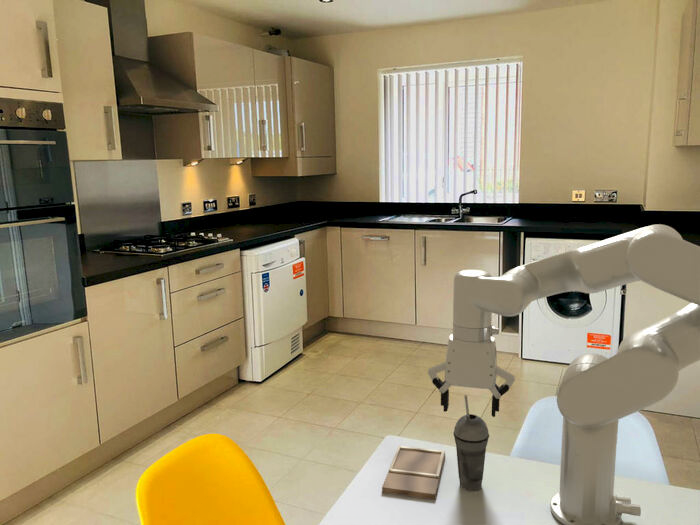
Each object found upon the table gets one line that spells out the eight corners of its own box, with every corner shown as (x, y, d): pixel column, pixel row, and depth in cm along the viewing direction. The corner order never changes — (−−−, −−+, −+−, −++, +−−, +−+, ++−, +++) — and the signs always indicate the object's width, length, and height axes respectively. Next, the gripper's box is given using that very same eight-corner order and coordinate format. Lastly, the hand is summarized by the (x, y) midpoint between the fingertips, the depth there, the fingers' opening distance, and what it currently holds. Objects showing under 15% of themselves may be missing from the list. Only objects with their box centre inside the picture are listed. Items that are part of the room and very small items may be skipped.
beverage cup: (488, 496, 119) (490, 404, 116) (452, 493, 121) (453, 402, 117) (487, 476, 126) (489, 389, 123) (453, 474, 128) (454, 387, 124)
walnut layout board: (445, 457, 135) (445, 450, 134) (435, 499, 119) (435, 492, 118) (398, 451, 138) (398, 445, 138) (382, 492, 122) (382, 485, 121)
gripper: (516, 329, 118) (513, 408, 122) (431, 323, 123) (430, 399, 127) (516, 341, 111) (513, 424, 115) (425, 334, 116) (424, 414, 119)
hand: (469, 411), depth 121 cm, fingers open, 9 cm apart
